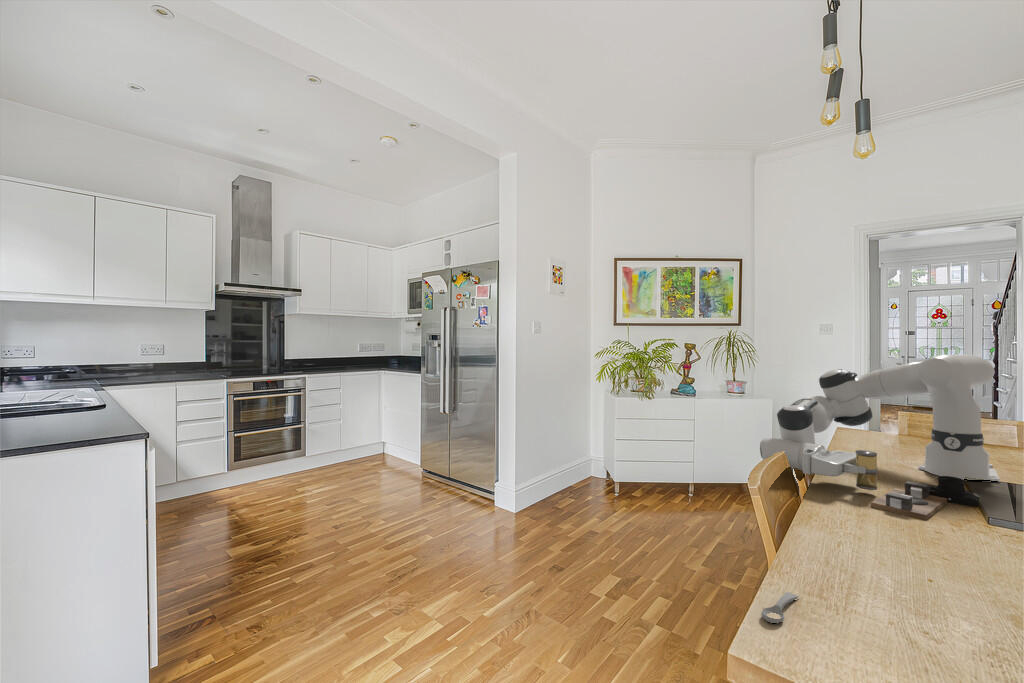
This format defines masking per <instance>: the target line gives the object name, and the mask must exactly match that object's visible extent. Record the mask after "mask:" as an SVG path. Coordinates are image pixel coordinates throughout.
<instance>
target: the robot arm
mask: <svg viewBox="0 0 1024 683" xmlns="http://www.w3.org/2000/svg"><path fill="white" fill-rule="evenodd" d="M994 375H995V369H994V366H993V365H992V363H991V362H990V361H989V360H987V359H985V358H983V357H982V356H978V355H976V354H975V355H974V354H968V353H967V354H966V353H965V354H939V355H934V356H931V357H929V358H926V359H924V360H923V361H915V362H908V363H904V364H898V365H893V366H888V367H884V368H880V369H876V370H873V371H869V372H867V373H864V374H862V375H860V376H858V374H857V373H856V372H852V371H849V370H846V369H842V368H841V369H840V368H839V369H838V368H837V369H831V370H828V371H826V372H824V374H822V375H821V376H820V377H819V379H818V383H819V386H820V388H821V389H822V391H823V394H824V396H822V395H814V396H811V397H809V398H801V399H798V400H796V401H795V402H792V404H790V405H786V406H783V407H782V408H781V409H779V410H778V412H777V413H776V416H777V417H776V418H777V421H778V425H779V432H780V433H779V434H780V438H775V437H774V438H772V437H771V438H770V437H768V438H767V437H765V438H762V439H761V441H760V444H759V453H760V456H761V459H762V460H763V461H764V459H766V458H768V457H770V456H772V455H773V454H775V453H777V452H781V451H785V452H784V453H785V455H786V456H787V459H788V461H789V465H790V467H791V468H790V469H797V470H800V471H802V473H803V474H805V475H809V476H810V475H819V476H827V477H839V476H841V475H844V474H846V473H863V474H865V473H867V467H865V466H856V452H852V451H843V450H831V451H830V450H827V449H826V447H825V446H824V445H823V444H822V445H821V444H817V443H816V437H815V434H819V433H823V432H826V430H828V429H829V428H830V426H831V424H832V423H833V421H834V422H835V423H837V424H838V423H840V424H842V425H845V426H849V427H858V426H862V425H864V424H867V423H868V422H869V421H871V420H872V418H873V412H872V408H871V407H870V406H869V403H868V402H867V399H870V400H886V399H887V400H888V399H897V398H904V397H911V396H917V395H924V394H925V395H926V394H928V395H929V398H930V401H931V406H932V425H933V426H932V429H931V433H930V436H931V437H930V438H931V439H930V440H931V442H930V443H928V444H926V445H925V451H924V452H925V454H924V464H919V465H918V469H919V470H921V471H926V472H928V473H930V474H932V475H935V476H938V477H939V476H951V477H956V478H960V479H963V480H964V478H965V477H970V478H976V479H984V480H992V481H998V482H997V483H1000V481H1001V480H1000V477H999V475H998V473H997V471H996V469H995V468H993V464H990V453H989V452H988V451H987V450H986V449H985V448H984V446H983V445H985V444H984V440H985V439H984V438H985V437H984V434H983V433H982V414H981V413H982V412H981V407H980V405H978V404H977V403H976V401H975V399H974V396H973V392H972V388H977V387H980V386H983V385H985V384H987V383H988V382H990V381H991V380H992V379H993V378H994ZM964 481H965V480H964Z"/></svg>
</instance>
